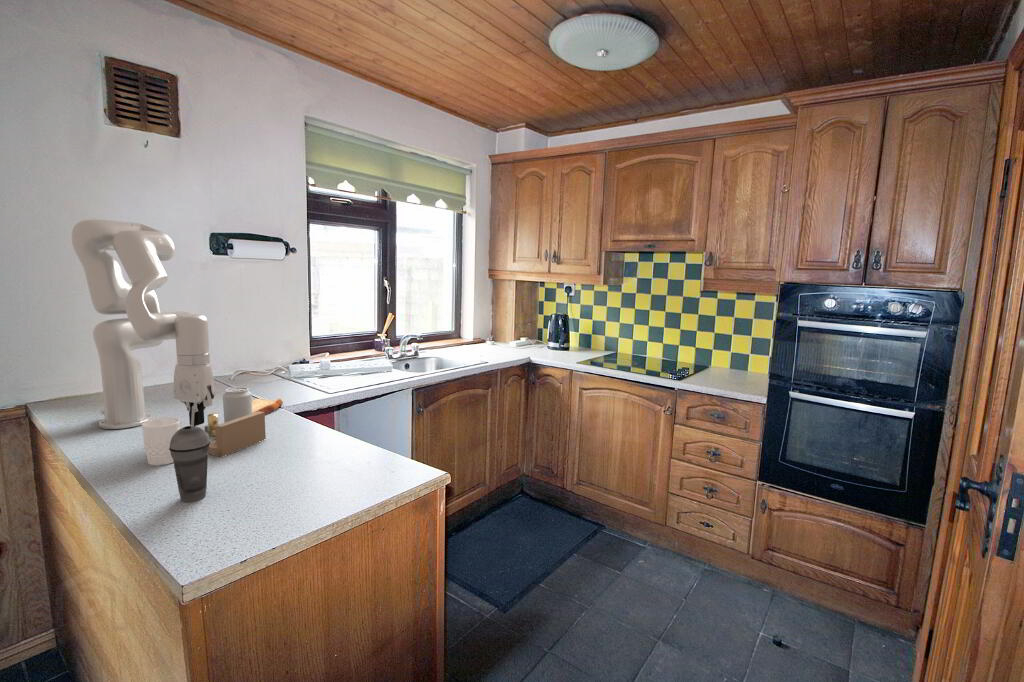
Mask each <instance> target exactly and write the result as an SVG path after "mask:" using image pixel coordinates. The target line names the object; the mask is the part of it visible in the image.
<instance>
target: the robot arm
mask: <svg viewBox="0 0 1024 682" xmlns="http://www.w3.org/2000/svg"><path fill="white" fill-rule="evenodd" d="M71 243H72V247H73V250H74V252H75V254H76V256H77V258H78V260H79V262H80V263H81V266H82V267H83V271H84V274H85V279H86V283H87V286H88V291H89V294H90V295H89V296H90V300H91V303H92V306H93V308H94V310H95V311H96V313H98V314H101V315H105V316H107V315H108V316H113V315H127V317H124V318H114V319H107V320H103V321H101V322H99V323H98V324H96V325H95V326H94V329H93V330H92V338H93V341H94V344H95V347H96V350H97V353H98V358H99V359H98V360H99V364H100V374H101V383H102V384H101V385H102V394H103V395H102V396H103V403H104V404H103V405H104V408H103V409H101V410H100V411H99V413H100V414H101V415H104V417H103V419H102V420H100V421H99V422H98V427H99V428H102V429H106V430H120V429H122V430H123V429H129V428H134V427H138V426H142V423H144V422H146V421H148V420H152V419H153V415H151V414H150V413H146V406H145V396H144V395H145V392H144V384H143V383H144V382H143V380H144V379H143V371H142V370H143V369H142V363H141V361H140V359H138V357H137V356H136V355H134V353H133V352H132V351H135V350H141V349H148V348H154V347H158V346H160V345H161V344H162V343H164V341H169V340H175V350H176V364H175V366H174V367H175V368H174V374H173V396H174V399H176V400H177V401H179V402H181V403H182V404H184V405H185V406H186V411H187V412H188V417H189V418H188V419H189V423H190V425H191V417H192V406H195V413H194V426H197V425H200V424H205V410H206V408H207V407H210V406H212V405H213V404H214V403H213V399H214V398H215V391H216V390H215V380H214V375H213V374H214V373H213V369H212V365H211V362H210V361H211V360H210V359H211V358H210V342H209V341H210V339H209V321H208V319H207V316H205V315H203V314H199V313H198V314H195V313H191V312H187V311H167V312H166V311H163V312H162V311H161V307H160V302H159V299H158V295H157V293H156V291H155V290H156V289H159V288H161V287H163V286H164V285H165V284H166V283H167V282H168V274H167V272H166V270H165V268H164V266H163V264H162V262H165V261H169V260H171V259H172V258H173V257H174V256H175V250H176V249H175V248H176V247H175V244H174V242H173V240H172V238H171V237H170V236H169V235H168V234H166V233H165V232H163V231H161V230H159V229H156V228H153V227H151V226H148V225H146V224H143V223H139V222H138V223H137V222H129V221H120V220H119V221H118V220H109V219H107V220H106V219H95V218H93V219H92V218H91V219H84V220H80V221H78V222H76V223H75V224H74V226H73V228H72V230H71ZM107 251H115V252H116V254H117V257H118V259H119V261H120V263H121V264H122V266H123V269H124V271H125V272H126V275H127V277H128V279H129V281H128V282H127V281H126V280H125V276H124V274H123V270H122V267H121V265H120V263H119V262H118V261H117V260H116V259H115V258H114V257H113V256H112V255H111V254H109V253H108V252H107Z"/></svg>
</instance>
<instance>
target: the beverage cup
mask: <svg viewBox="0 0 1024 682" xmlns="http://www.w3.org/2000/svg"><path fill="white" fill-rule="evenodd" d="M194 413H195V406H192V417H191V426H186V427H183V428H181V429H179V430H178V431H177V432H176V433H175V434H174V435H173V436H172V438H171V442H170V447H169V450H170V453H171V456H172V458H173V466H174V471H175V472H174V473H175V476H176V477H175V478H176V483H177V489H178V494H179V497H180V501H181V502H183V503H194V502H197V501H200V500H202V499H204V498H205V497H207V496H206V494H207V483H208V463H209V462H208V456H209V454H208V453H209V445H210V441H209V437H208V435H207V433H206V432H205V431H204V430H203V429H201V428H200V427H197V426H194Z"/></svg>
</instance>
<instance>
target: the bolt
mask: <svg viewBox="0 0 1024 682" xmlns="http://www.w3.org/2000/svg"><path fill="white" fill-rule="evenodd" d="M207 425H208V435H212V436H216V427H215V426H216V425H219V415H218V413H215V412H212V413H211V412H210V413H208V414H207Z"/></svg>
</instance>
